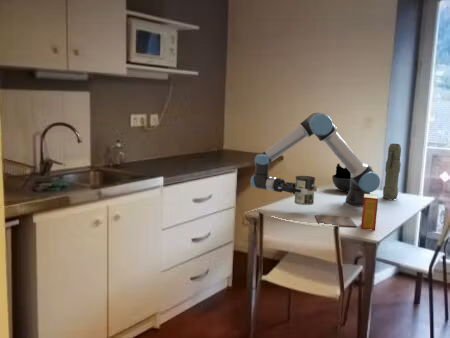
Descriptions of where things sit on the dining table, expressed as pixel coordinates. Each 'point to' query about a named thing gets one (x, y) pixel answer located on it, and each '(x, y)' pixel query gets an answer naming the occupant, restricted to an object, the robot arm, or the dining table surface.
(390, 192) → the olive green rough column
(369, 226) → the baking soda box
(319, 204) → the dining table surface
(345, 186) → the coal bowl
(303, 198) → the coffee can
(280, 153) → the robot arm
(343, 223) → the walnut board
